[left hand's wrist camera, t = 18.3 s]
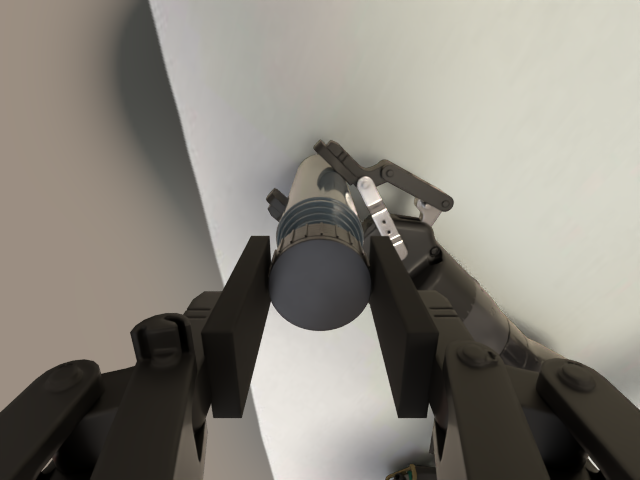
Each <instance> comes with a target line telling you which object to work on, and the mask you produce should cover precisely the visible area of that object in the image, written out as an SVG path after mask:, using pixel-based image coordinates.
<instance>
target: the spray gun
mask: <svg viewBox="0 0 640 480" xmlns="http://www.w3.org/2000/svg"><path fill="white" fill-rule="evenodd" d="M410 470H412V471H410ZM407 471H408V474H407V473H406V472H407ZM392 477H394V479H393V480H437V474H436V467H425V466H415V465H414V464H410V466H409V467H408V468H405V469H403V470H400V471H398V472H395V473H393V474H390V475H388V476H387V477H386V479H385V480H389V479H390V478H392Z"/></svg>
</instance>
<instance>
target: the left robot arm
mask: <svg viewBox="0 0 640 480" xmlns="http://www.w3.org/2000/svg"><path fill="white" fill-rule="evenodd" d="M369 264H370V268H369V270H370V273H371V277H372V291H371V296H370V299H369V303H370V307H371V311H372V315H373V319H374V323H375V327H376V331H377V335H378V339H379V343H380V347H381V351H382V355H383V359H384V363H385V367H386V371H387V375H388V379H389V383H390V387H391V391H392V395H393V399H394V403H395V407H396V411H397V415H398V418H427V412H428V405H429V403H430V406H431V409H432V411H433V414H434V417H435V418H434V425H433V431H432V437H431V443H430V450H429V453H430V454H434V453H435V464H436V474H437V480H640V410H639V409H638V408H637V407H636V406H635V405H634V404H633V403H631V402H630V401H629V400H628V399H627V398H626V397H625V396H624V395H623V394H622V393H621V392H620V391H619V390H617V389H616V388H615V387H614V386H613V385H612V384H611V383H610V382H609V381H608V380H607V379H606V378H604V377H603V376H602V375H600V374H599V373H598V372H596V371H595V370H594V369H592V368H590V367H588V366H586V365H583V364H582V363H579V362H576V361H573V360H569V359H561V358H553V359H547V360H546V361H545V362H543V363H542V365H541V368H540V372H535V371H530V370H525V369H521V368H516V367H512V366H509V365H505V364H504V362H503V360H502V359H501V357H500V356H499V354H498V353H497V352H495V351H494V350H493V349H491V348H490V347H488V346H486V345H484V344H481V343H479V342H475V340H474V339H473V337H472V336H471V334H470V333H469V331H468V330H467V328H466V327H465V325H464V324H463V322H462V320H461V319H460V317H458V314H457V313H456V311H455V310H454V309H453V307H452V305H451V304H450V302H449V301H448V299H447V298H446V297H444V296H443V295H442V294H440V293H439V292H437V291H436V290H417V289H416V287H415V285H414V283H413V281H412V279H411V278H410V276H409V274H408V272H407V270H406V268H405V266H404V264H403V262H402V260H401V258H400V257H399V255H398V253H397V251H396V249H395V247H394V245H393V243H392V241H391V239H390V237H389V236H370V253H369ZM270 267H271V253H270V236H251V237H250V239H249V241H248V243H247V245H246V247H245V249H244V251H243V253H242V255H241V257H240V258H239V260H238V262H237V264H236V266H235V268H234V270H233V272H232V274H231V276H230V278H229V279H228V281H227V283H226V285H225V287H224V289H223V291H205V292H203V293H202V294H200V295H199V296H197V297H196V298H194V299H193V300H192V302H191V304H190V305H189V307H188V308H187V311H185V313H184V314H183V315H182V314H178V313H165V314H160V315H155V316H153V317H150V318H148V319H145V320H143V321H142V322H140V323H139V324H137V325H136V326H135V327H134V328H133V329H132V331H131V332H130V334H131V338H132V342H133V346H134V351H135V355H136V359H137V363H136V365H135V366H133V367H129V368H126V369H121V370H117V371H112V372H108V373H103V374H101V372H100V369H99V365H98V364H96V363H95V362H94V361H90V360H75V361H70V362H67V363H63V364H60V365H58V366H56V367H54V368H52V369H50V370H48V371H46V372H45V373H44V374H42V375H41V376H40V377H38V378H37V379H36V380H35V381H33V382H32V383H31V384H30V385H29V386H28V387H27V388H26V389H25V390H24V391H23V392H22V393H21V394H20V395H18V396H17V397H16V398H15V399H14V400H13V401H12V402H11V403H10V404H9V405H8V406H7V407H6V408H5V409H4V410H2V411H1V412H0V480H203V474H204V464H205V454H206V444H207V434H208V431H207V425H206V416H207V413H208V410H209V408H210V405H212V412H213V418H242V415H243V411H244V407H245V403H246V399H247V395H248V391H249V387H250V383H251V379H252V375H253V371H254V367H255V363H256V359H257V355H258V351H259V347H260V343H261V339H262V335H263V331H264V327H265V323H266V319H267V315H268V311H269V307H270V303H271V299H270V297H269V292H268V274H269V270H270ZM588 456H589V457H590V458H591V459H592V461H593V462H594V463H595V464H596V466H597V467H598V468H599V469H600V470H598V469H597V468H596V467H595V466H594V465H593V464H592V463H591V462H590V460H589V459H588ZM51 458H53V460H52V461H51V462H50V464H49V465H48V466H47V467H46V468H45V469H44V470H43V471H42V469H43V468H44V467H45V466H46V464H47V463H48V462H49V460H50V459H51ZM41 471H42V472H41Z"/></svg>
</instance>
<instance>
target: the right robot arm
mask: <svg viewBox="0 0 640 480" xmlns="http://www.w3.org/2000/svg"><path fill="white" fill-rule="evenodd" d="M314 150H315V151H316V152H317V153H318V154H319V155H320V156H321V157H322V158H323V159H324V160H325V161H326V162H327V163H328V164H329V165H330V166H331V167H332V168H333V169H334V170H335V171H336V172H337V173H338V174H339V175H341V176H342V177H343V179H344V180H345V181H346V182H347V183H348V184H349V185H350V186H351V185H352V184H354V185H355V186H356V187H357V188H358V190H359V192H360V194H361V196H362V198H363V200H364V202H365V204H366V206H367V208H368V210H369V212H370V215H369V216H368V217H367V218H366V219H365V220H364V221H363V223H362V228H363V233H364V242H363V247H362V248H363V251H364V253H365V252H366V255H367V258H368V261H369V253H370V236H389V237H390V239H391V241H392V243H393V245H394V247H395V249H396V251H397V253H398V255H399V257H400V258H401V260H402V262H403V264H404V266H405V268H406V270H407V272H408V274H409V276H410V278H411V279H412V281H413V283H414V285H415V287H416V289H417V290H436V291H437V292H439V293H440V294H442V295H443V296H444V297H446V298H447V299H448V301H449V302H450V304H451V305H452V307H453V309H454V310H455V311H456V313H457V314H458V317H460V319H461V320H462V322H463V324H464V325H465V327H466V328H467V330H468V331H469V333H470V334H471V336H472V337H473V339H474V340H475V342H479V343H481V344H484V345H486V346H488V347H490V348H491V349H493V350H494V351H495V352H497V353H498V354H499V356H500V357H501V359H502V360H503V362H504V364H505V365H509V366H512V367H516V368H521V369H525V370H530V371H535V372H540V368H541V365H542V363H543V362H545V361H546V360H547V359H553V358H561V359H567V358H565V357H563V356H561V355H559V354H558V353H556V352H554V351H552V350H550V349H549V348H547V347H545V346H543V345H542V344H540V343H537V342H535V341H533V340H531V339H529V338H527V337H526V336H525V335H524V334H523V333H522V332H521V331H520V330H519V329H518V328H517V327H516V326H515V325H514V324H513V323H512V322H511V321H510V320H509V319H508V318H507V317H506V316H505V315H504V314H503V313H502V311H501V310H500V309H499V307H498V306H497V304H496V303H495V302H494V300H493V299H492V298H491V297H490V295H489V294H488V293H487V292H486V291H485V290H484V289H483V288H482V287H481V286H480V284H479V283H478V281H477V280H475V279H474V278H473V277H471V276H470V275H469V274H468V273H467V272H466V271H465V270H464V269H463V268H462V267H461V266H460V265H459V264H458V263H457V262H456V261H455V260H454V259H453V258H452V257H451V256H450V255H449V253H448V252H447V251H446V250H445V249H444V248H443V247H442V246H441V245H440V244H439V243H438V242H437V241H436V240H435V237H434V232H433V229H432V227H431V226H432V225H433V224H434V222H435V221H436V219H437V218H438V216H439V215H440V213H441V212H442V211H443V212H446V211H449V210H450V209H451V208H452V207H453V204H454V201H453V199H452V198H451V197H450V196H449V195H447V194H446V193H444V192H443V191H442V190H440V189H438V188H437V187H435V186H433V185H431V184H429V183H428V182H426V181H424V180H422V179H421V178H419V177H417V176H415V175H413V174H412V173H410V172H408V171H406V170H404V169H403V168H401V167H399V166H397V165H395V164H394V163H392V162H390V161H388V160H381V161H380V162H379V163H378V164H376V165H374V166H372V167H369V168H364V167H361V166H360V165H359V164H358V163H357V162H356V161H355V160H354V159H353V158H352V157H351V156H350V155H349V154H348V153H347V152H346V151H345V150H344V149H343V148H342V147H341V146H340V145H339V144H338V143H337V142H334V141H332V140H330V141H329V142H328V144H327V145H326V144H325V143H324V142H323V141H322V140H321V139H320V140H319V141H318V142H317V143H316V144H315V145H314ZM385 182H389V183H391V184H393V185H394V186H396V187H398V188H400V189H402V190H404V191H405V192H407V193H409V194H411V195H413V196H415V199H414V205H415V206H416V207H417V208H418V209H419V211H420V216H419V218H417V217H410V216H403V215H396V214H389V212H388V210H387V208H386V206H385V204H384V202H383V201H382V198H381V196H380V194H379V192H378V190H377V188H376V187H377V186H379V185H381V184H383V183H385ZM266 200H267V202H268V203H269V204H270V205H269V207H268V210H269V212H270V214H271V216H272V217H274V218H275V219H276V220H277V221H278V222H280V219H281V216H282V213H283V210H284V207H285V204H286V201H287V197H285V196H284V195H283V194H282V193H281V192H280V191H279V190H278V189H276V188H274V189H273V190H272V191H271V192H270V193H269V195H268V196H267V198H266ZM368 303H369V301H368ZM369 304H370V303H369Z"/></svg>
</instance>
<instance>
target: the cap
mask: <svg viewBox="0 0 640 480" xmlns="http://www.w3.org/2000/svg"><path fill="white" fill-rule="evenodd" d="M369 268H370V264H369V261H368V258H367V255H366V252H365V253H364V251H363V248H362V246H361V243H360V241H357V239H356V238H355V237H354V236H353V235H351V233H350V231H348V232H347V231H346V230H344V229H342V228H340V227H337V225H336V224H335V226H334V225H330V224H323V222H321V223H319V224H309V225H308V224H306V226H303V227H300V228H298V229H296V230H294V229H293V230H292V232H291V233H290V234H288V235H287V236H286V237H285V238H284V239H283V238H282V240H281V243H280V245H279V246H278V248H277V250H275V251H274V255H273V258H272V261H271V267H270V270H269V274H268V292H269V297H270V299H271V302H272V304H273V306H274V307H275V309H276V310H277V311H278V313H279V314H280V315H281V316H282V317H283V318H284V319H286V320H287V321H288V322H290V323H292V324H293V325H296V326H298V327H300V328H303V329H307V330H313V331H326V330H332V329H337V328H339V327H342V326H344V325H346V324H348V323H350V322H351V321H353V320H354V319H355V318H357V317H358V316H359V315H360V314H361V313H362V311H363V310H364V309H365V307H366V305H367V303H368V301H369V299H370V296H371V291H372V277H371V273H370V270H369Z"/></svg>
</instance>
